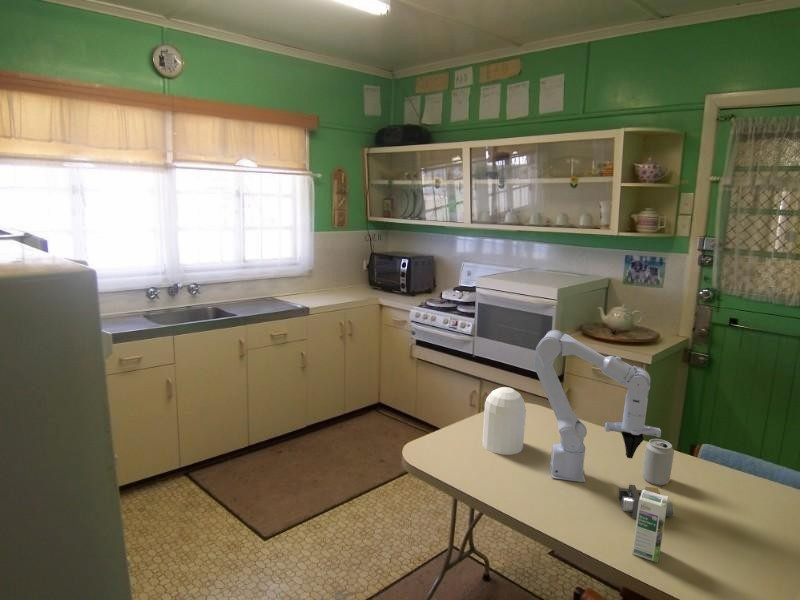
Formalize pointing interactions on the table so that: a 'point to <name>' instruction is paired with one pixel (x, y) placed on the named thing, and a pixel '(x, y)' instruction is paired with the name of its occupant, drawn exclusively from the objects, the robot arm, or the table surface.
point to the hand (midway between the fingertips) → (629, 456)
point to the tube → (628, 506)
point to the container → (504, 421)
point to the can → (658, 462)
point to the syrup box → (649, 525)
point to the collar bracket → (634, 496)
